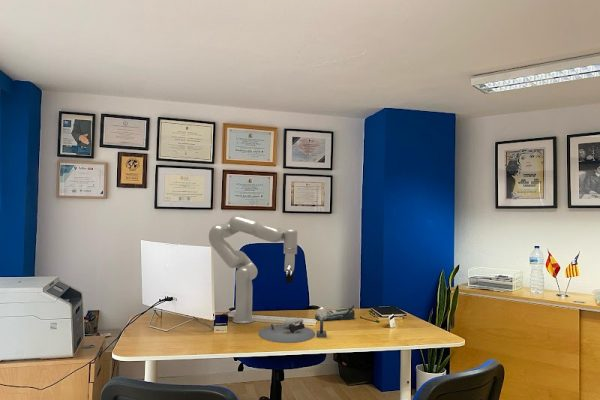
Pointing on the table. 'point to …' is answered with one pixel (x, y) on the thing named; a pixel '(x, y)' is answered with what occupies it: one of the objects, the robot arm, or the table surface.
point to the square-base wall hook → (321, 322)
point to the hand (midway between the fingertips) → (289, 281)
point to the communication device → (339, 314)
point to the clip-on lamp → (292, 324)
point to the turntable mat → (286, 334)
